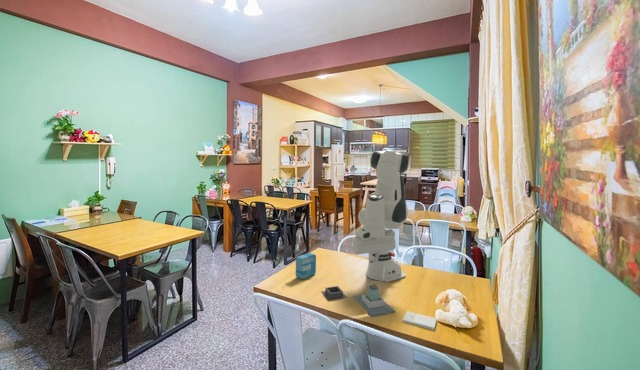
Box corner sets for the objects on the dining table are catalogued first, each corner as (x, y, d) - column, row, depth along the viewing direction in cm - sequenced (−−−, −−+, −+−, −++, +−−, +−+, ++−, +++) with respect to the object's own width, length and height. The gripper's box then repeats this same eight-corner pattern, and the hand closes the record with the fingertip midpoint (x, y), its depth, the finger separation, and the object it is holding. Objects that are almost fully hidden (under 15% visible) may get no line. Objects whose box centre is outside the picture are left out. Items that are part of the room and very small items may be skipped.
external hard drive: (434, 331, 115) (402, 323, 121) (436, 321, 122) (406, 313, 128) (434, 327, 115) (402, 319, 121) (437, 318, 122) (406, 310, 128)
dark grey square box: (339, 290, 148) (339, 284, 148) (347, 299, 139) (347, 292, 138) (320, 293, 145) (321, 286, 144) (328, 303, 135) (328, 295, 135)
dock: (374, 294, 144) (374, 287, 144) (395, 312, 127) (395, 305, 127) (352, 297, 140) (352, 291, 140) (370, 317, 124) (371, 309, 123)
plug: (374, 300, 136) (375, 283, 136) (379, 304, 133) (379, 287, 132) (367, 301, 135) (367, 284, 134) (371, 305, 131) (371, 288, 131)
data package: (301, 280, 160) (301, 259, 159) (295, 278, 163) (295, 257, 162) (315, 274, 169) (316, 253, 168) (310, 271, 172) (310, 252, 171)
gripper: (391, 227, 137) (390, 255, 139) (351, 231, 130) (351, 261, 132) (398, 230, 131) (397, 260, 133) (357, 235, 124) (357, 266, 126)
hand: (374, 260), depth 132 cm, fingers closed
